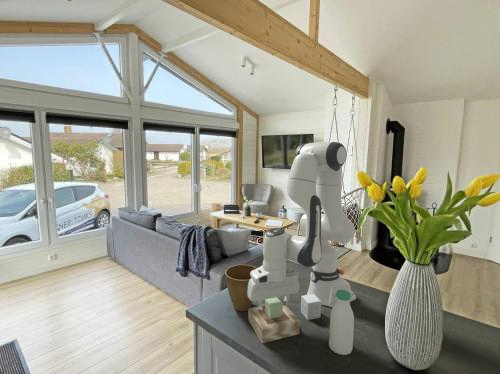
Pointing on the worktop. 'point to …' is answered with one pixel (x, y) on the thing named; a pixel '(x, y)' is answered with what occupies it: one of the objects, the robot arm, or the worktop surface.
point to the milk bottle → (341, 324)
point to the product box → (310, 306)
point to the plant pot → (239, 285)
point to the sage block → (273, 307)
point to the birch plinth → (273, 324)
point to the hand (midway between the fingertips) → (273, 307)
